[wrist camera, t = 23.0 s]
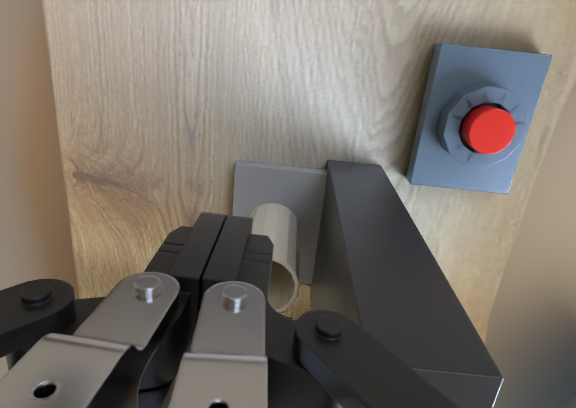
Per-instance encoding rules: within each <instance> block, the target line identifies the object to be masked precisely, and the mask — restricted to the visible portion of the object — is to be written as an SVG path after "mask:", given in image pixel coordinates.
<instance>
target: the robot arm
mask: <svg viewBox="0 0 576 408" xmlns="http://www.w3.org/2000/svg"><path fill="white" fill-rule="evenodd" d="M252 225H253V218H250V217H241V216H232V215H228V216H227V215H223V214H214V213H205V212H202V213H201V214H200V216H199V218H198V220H197V221H196V223H195V225H194V227H186V226H181V227H179V228H178V229H176V230H174V231H172V232H171V233H169V235H168V236H167V238H166V239H165V241H164V243H163V244H162V245H161V247H160V248H159V250H158V252H157V253H156V254H155V256H154V257H153V259H152V260H151V262H150V263H149V265H148V266H147V268H146V269H145V271H144V272H143V273H137V274H134V275H131V276H128V277H126V278H124V279H123V280H121V281H120V282H119V283H118V284H117V285H116V286H115V287H114V288H113V289H112V291H111V292H110V293H109V294H108V295H107V296H106V297H99V298H87V299H76V300H75V296H74V289H73V287H72V286H71V285H70V284H69V283H67V282H65V281H62V280H57V279H39V280H33V281H28V282H25V283H22V284H19V285H16V286H12V287H10V288H7V289H4V290H0V358H1V357H3V356H6V359H7V364H8V370H9V372H8V373H7V374H6V375H5V376H4V377H3V378H2V379H1V380H0V408H168V406H169V408H460V407H459V406H457V405H456V404H455V403H454V402H452V401H451V400H450V399H449V398H448V397H446V396H445V395H444V394H443V393H441V392H440V391H439V390H438V389H436V388H435V387H434V386H433V385H432V384H430V383H429V382H428V381H427V380H425V379H424V378H423V377H422V376H420V375H419V374H418V373H417V372H415V371H414V370H413V369H412V368H411V367H409V366H408V365H407V364H406V363H404V362H403V361H402V360H401V359H399V358H398V357H397V356H396V355H395V354H393V353H392V352H391V351H390V350H388V349H387V348H386V347H385V346H383V345H382V344H381V343H380V342H379V341H377V340H376V339H375V338H374V337H372V336H371V335H370V334H369V333H367V332H366V331H365V330H364V329H363V328H361V327H360V326H359V325H358V324H356V323H355V322H354V321H353V320H351V319H350V318H348V317H347V316H345V315H343V314H340V313H338V312H334V311H329V310H314V311H310V312H307V313H305V314H303V315H302V316H300V317H299V319H298V320H297V321H296V320H293V319H290V318H288V317H285V316H283V315H281V314H280V313H278V312H277V311H275V310H274V309H273V308H272V307H271V305H270V304H269V302H268V293H269V285H270V275H271V266H272V257H273V248H274V244H273V243H272V241H271V240H270V238H269V237H268V236H267V235H258V234H252ZM169 404H170V405H169Z"/></svg>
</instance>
